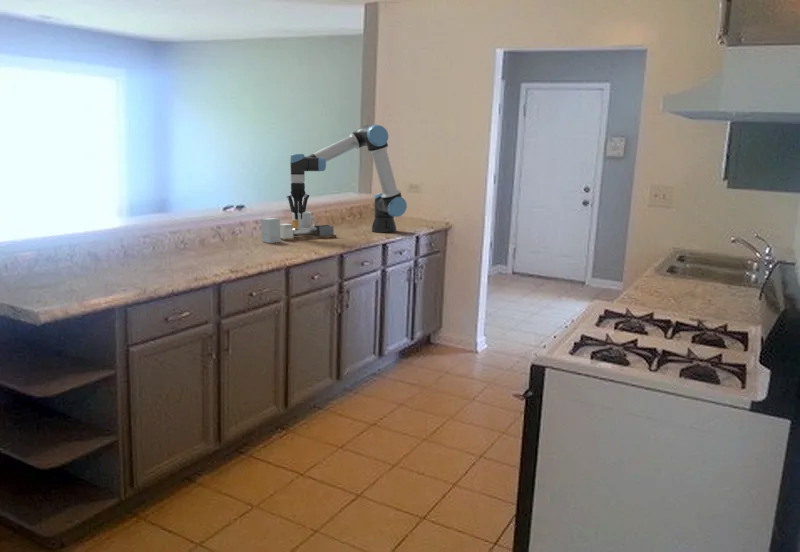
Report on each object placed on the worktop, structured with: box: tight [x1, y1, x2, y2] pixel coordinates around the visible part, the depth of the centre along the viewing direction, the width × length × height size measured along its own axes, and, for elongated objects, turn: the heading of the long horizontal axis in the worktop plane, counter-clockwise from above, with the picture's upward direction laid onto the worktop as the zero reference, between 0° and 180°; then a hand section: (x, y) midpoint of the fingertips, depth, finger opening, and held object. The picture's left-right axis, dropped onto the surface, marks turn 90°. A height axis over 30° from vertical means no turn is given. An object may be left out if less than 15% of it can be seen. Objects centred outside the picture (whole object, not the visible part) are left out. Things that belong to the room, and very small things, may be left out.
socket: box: [280, 223, 293, 239], centre depth 370 cm, size 5×8×7 cm
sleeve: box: [313, 224, 335, 236], centre depth 383 cm, size 9×7×5 cm
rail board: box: [281, 234, 337, 242], centre depth 378 cm, size 32×9×1 cm, turn 125°
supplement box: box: [260, 217, 282, 244], centre depth 362 cm, size 7×7×13 cm
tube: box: [292, 220, 318, 236], centre depth 375 cm, size 18×4×9 cm, turn 125°
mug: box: [291, 211, 317, 228], centre depth 392 cm, size 15×11×13 cm
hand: (298, 225), depth 374 cm, fingers closed
